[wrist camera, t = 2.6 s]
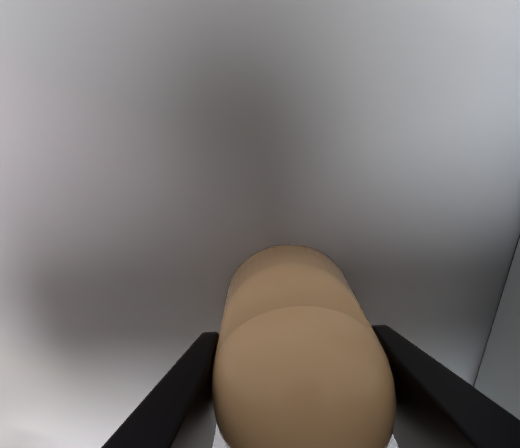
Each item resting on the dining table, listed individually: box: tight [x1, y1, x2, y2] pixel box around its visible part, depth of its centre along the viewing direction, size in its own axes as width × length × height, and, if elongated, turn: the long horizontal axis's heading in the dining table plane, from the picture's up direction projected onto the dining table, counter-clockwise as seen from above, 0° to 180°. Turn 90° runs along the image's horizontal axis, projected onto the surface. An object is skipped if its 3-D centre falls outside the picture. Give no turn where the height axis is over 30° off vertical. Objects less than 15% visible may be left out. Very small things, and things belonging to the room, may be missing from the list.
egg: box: [212, 245, 396, 448], centre depth 7 cm, size 4×4×5 cm
